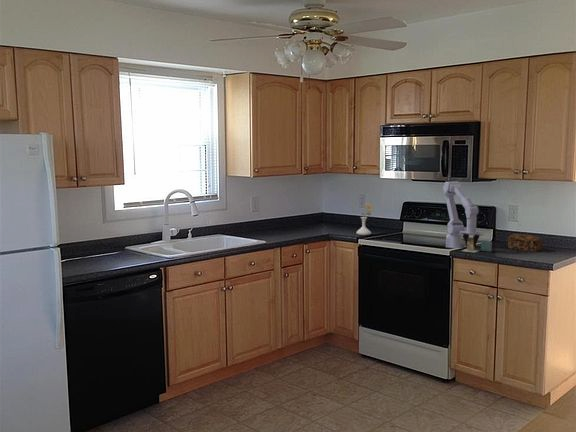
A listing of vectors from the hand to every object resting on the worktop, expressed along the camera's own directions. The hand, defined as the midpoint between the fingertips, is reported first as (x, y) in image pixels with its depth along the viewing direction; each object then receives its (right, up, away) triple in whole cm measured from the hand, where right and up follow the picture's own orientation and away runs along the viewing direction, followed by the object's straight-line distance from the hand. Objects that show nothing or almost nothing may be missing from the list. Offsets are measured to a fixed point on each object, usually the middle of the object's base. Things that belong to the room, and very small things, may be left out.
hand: (470, 246), depth 354 cm
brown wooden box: (0, -3, 0) cm, 3 cm away
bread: (+37, -3, +7) cm, 38 cm away
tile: (+9, -4, -1) cm, 10 cm away
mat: (0, -3, 0) cm, 3 cm away
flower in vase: (-57, +4, +75) cm, 94 cm away
